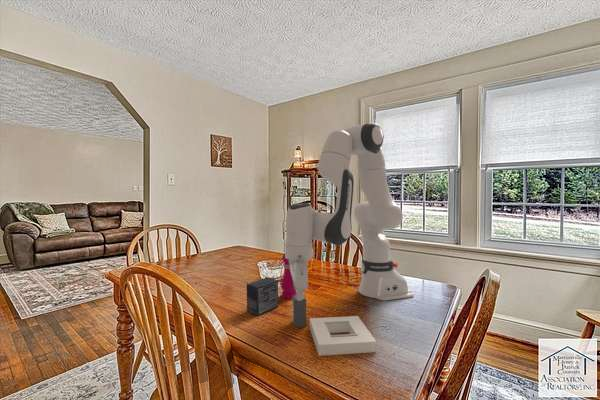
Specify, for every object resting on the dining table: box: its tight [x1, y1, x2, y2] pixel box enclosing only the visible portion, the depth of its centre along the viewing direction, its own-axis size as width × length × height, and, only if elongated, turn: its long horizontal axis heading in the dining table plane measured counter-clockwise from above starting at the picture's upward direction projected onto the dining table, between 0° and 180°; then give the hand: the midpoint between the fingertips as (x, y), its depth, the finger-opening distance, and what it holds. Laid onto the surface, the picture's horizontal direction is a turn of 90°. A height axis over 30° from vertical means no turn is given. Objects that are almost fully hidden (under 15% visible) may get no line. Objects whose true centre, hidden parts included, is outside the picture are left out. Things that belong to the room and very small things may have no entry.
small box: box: [246, 277, 279, 317], centre depth 109 cm, size 11×6×10 cm, turn 141°
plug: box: [292, 294, 307, 328], centre depth 98 cm, size 4×4×9 cm
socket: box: [309, 315, 377, 357], centre depth 88 cm, size 16×16×3 cm
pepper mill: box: [280, 253, 297, 300], centre depth 122 cm, size 7×7×20 cm
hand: (297, 294), depth 97 cm, fingers open, 8 cm apart
